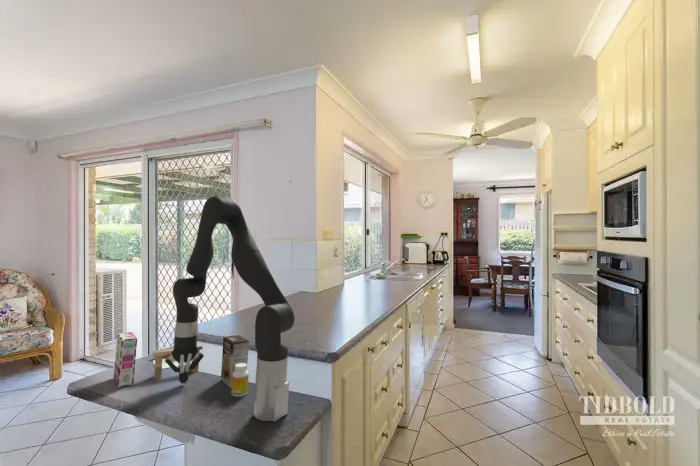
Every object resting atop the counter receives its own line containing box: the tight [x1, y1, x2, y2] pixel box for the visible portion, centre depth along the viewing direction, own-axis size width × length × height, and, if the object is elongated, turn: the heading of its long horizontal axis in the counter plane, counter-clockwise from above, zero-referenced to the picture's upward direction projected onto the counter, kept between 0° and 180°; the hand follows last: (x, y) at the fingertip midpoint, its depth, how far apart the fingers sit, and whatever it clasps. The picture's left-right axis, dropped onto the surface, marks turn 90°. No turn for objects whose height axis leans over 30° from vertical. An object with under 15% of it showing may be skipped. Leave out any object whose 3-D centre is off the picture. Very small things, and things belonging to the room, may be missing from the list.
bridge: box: [152, 345, 203, 380], centre depth 129 cm, size 3×17×10 cm, turn 127°
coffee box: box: [220, 334, 250, 389], centre depth 124 cm, size 9×6×16 cm
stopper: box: [154, 354, 171, 360], centre depth 147 cm, size 2×10×2 cm, turn 127°
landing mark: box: [152, 358, 179, 370], centre depth 140 cm, size 12×12×1 cm
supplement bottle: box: [230, 363, 250, 397], centre depth 115 cm, size 5×5×10 cm
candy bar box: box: [113, 332, 138, 389], centre depth 121 cm, size 11×5×16 cm, turn 42°
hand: (183, 382), depth 119 cm, fingers closed
